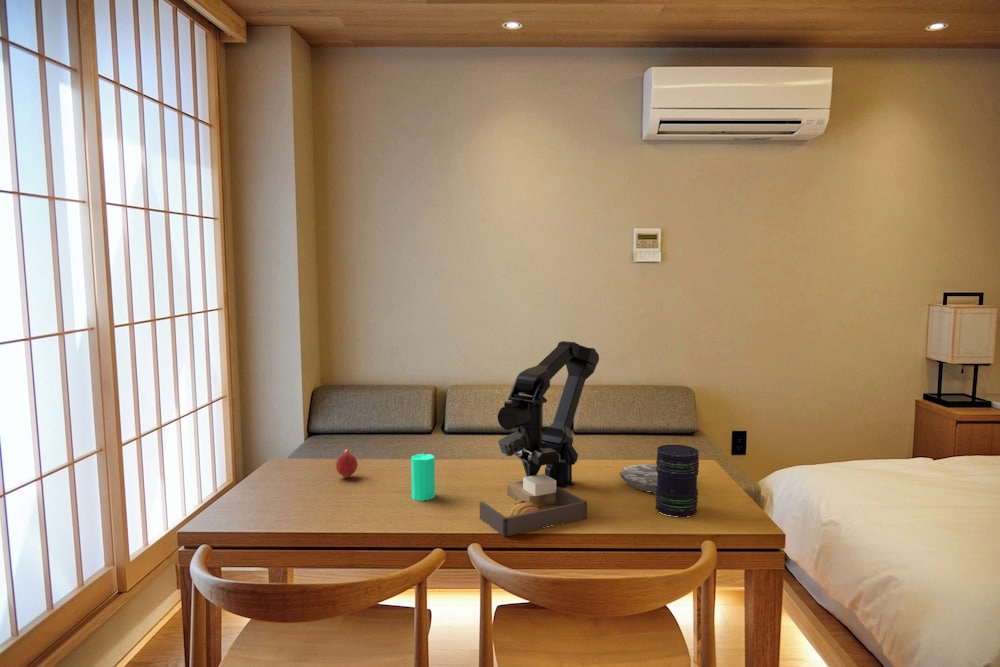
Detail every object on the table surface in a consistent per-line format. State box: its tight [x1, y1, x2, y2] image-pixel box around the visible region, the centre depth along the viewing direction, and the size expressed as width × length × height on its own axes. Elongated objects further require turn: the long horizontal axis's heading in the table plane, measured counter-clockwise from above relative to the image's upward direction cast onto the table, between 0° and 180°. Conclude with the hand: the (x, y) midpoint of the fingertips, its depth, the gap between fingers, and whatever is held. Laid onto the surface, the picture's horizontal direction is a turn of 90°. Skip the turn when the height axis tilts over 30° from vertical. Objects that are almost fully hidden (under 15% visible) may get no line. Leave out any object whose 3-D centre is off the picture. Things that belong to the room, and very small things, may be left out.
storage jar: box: [655, 444, 700, 517], centre depth 163 cm, size 10×10×15 cm
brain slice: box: [619, 463, 658, 493], centre depth 183 cm, size 20×17×3 cm
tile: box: [522, 473, 556, 496], centre depth 169 cm, size 6×6×3 cm
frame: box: [479, 487, 588, 538], centre depth 158 cm, size 22×12×4 cm, turn 118°
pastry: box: [509, 500, 541, 516], centre depth 157 cm, size 9×7×4 cm
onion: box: [335, 449, 358, 479], centre depth 187 cm, size 6×6×8 cm
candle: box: [410, 453, 436, 502], centre depth 172 cm, size 6×6×12 cm
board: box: [506, 480, 557, 508], centre depth 172 cm, size 9×11×3 cm
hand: (530, 482), depth 172 cm, fingers closed
